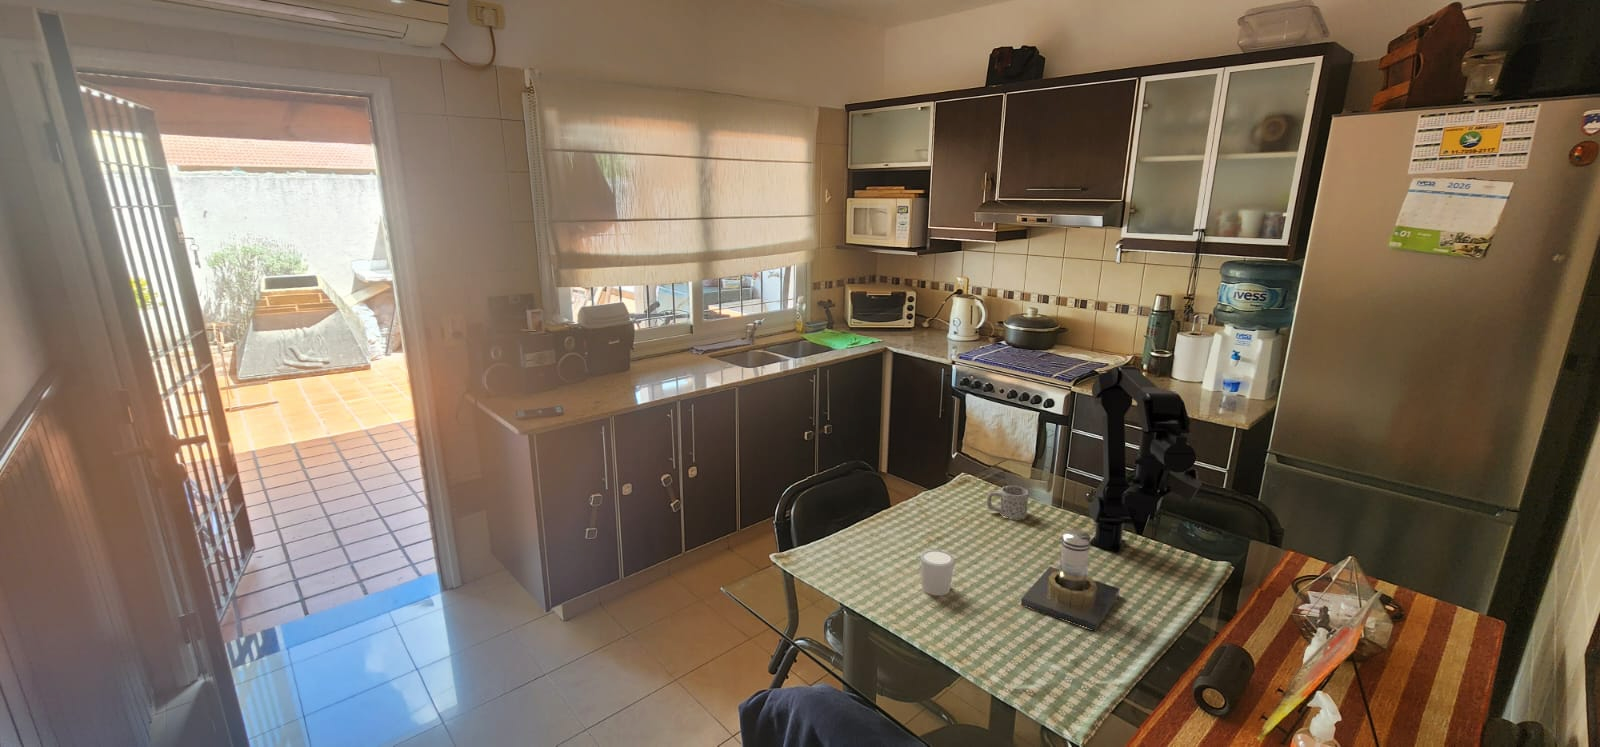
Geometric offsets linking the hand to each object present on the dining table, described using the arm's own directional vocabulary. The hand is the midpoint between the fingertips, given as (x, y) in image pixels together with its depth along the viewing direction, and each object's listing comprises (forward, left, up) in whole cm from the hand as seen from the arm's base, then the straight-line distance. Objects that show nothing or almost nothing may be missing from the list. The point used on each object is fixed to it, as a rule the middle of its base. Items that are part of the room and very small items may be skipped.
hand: (1145, 526), depth 137 cm
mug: (-16, -35, -13) cm, 41 cm away
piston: (+15, -9, -12) cm, 21 cm away
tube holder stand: (+15, -9, -13) cm, 22 cm away
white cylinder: (+28, -32, -13) cm, 45 cm away
